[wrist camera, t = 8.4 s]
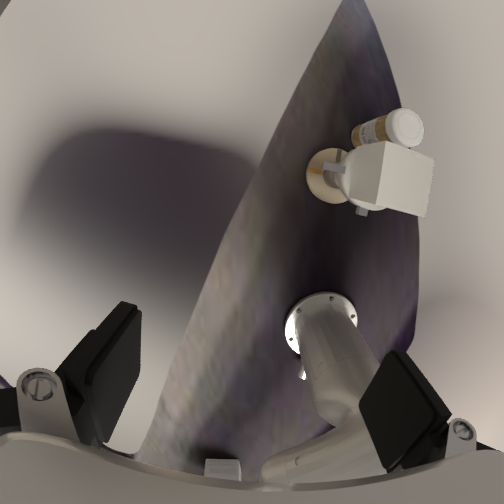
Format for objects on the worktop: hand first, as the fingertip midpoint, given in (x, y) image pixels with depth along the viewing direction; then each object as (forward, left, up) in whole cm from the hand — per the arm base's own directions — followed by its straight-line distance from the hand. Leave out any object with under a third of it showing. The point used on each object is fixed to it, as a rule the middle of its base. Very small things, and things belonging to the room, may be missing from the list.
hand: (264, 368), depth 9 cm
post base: (+9, -10, -32) cm, 35 cm away
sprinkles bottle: (+16, -14, -32) cm, 39 cm away
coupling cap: (+9, -9, -20) cm, 24 cm away
